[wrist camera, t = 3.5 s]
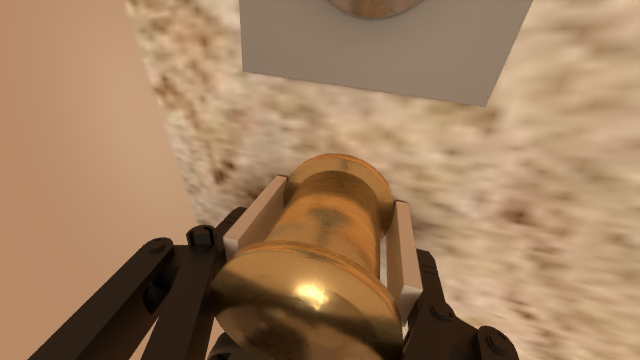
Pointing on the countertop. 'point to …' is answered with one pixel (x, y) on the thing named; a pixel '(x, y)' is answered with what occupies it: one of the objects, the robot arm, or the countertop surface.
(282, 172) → the countertop surface
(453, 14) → the plate
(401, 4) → the narrow pipe stub
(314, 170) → the gold flared knob
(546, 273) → the countertop surface
